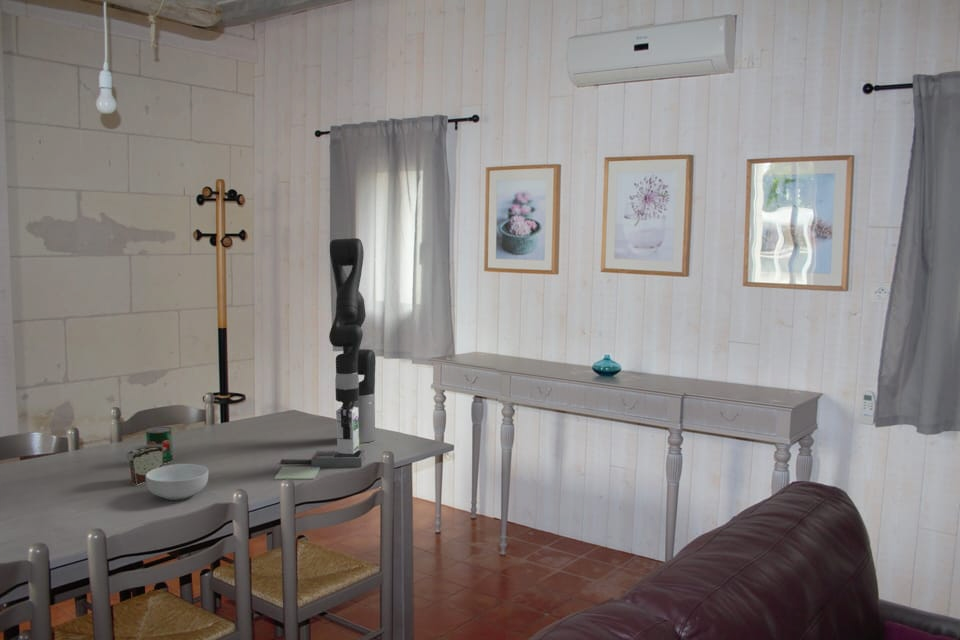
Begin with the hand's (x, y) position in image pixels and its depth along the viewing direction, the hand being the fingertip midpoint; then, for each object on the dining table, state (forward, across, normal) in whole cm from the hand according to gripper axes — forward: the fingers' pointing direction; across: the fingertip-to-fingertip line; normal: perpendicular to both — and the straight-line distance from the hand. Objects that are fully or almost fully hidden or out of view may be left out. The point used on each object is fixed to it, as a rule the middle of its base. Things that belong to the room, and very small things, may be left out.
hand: (348, 436), depth 269 cm
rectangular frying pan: (+9, 0, -9) cm, 12 cm away
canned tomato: (+9, -2, -62) cm, 63 cm away
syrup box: (+5, 0, 0) cm, 5 cm away
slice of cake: (+9, +18, -60) cm, 63 cm away
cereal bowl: (+9, +33, -44) cm, 56 cm away
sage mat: (+9, +12, -14) cm, 21 cm away
